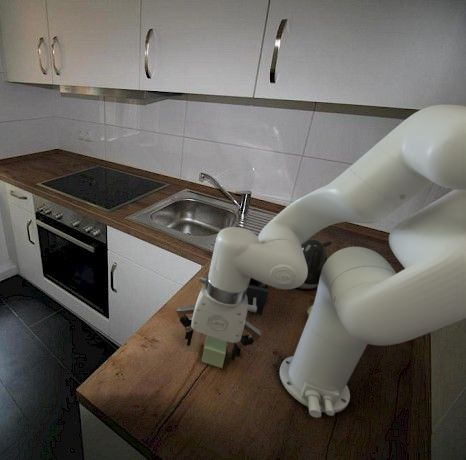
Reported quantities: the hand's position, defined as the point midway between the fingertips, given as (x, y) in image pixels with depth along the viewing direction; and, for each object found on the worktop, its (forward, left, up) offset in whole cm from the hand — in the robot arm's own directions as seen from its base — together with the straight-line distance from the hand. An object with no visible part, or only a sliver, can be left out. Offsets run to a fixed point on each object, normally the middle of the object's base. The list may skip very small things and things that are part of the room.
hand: (210, 348), depth 70 cm
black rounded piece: (+38, -22, -3) cm, 44 cm away
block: (0, -1, -3) cm, 3 cm away
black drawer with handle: (+21, -5, -2) cm, 22 cm away
